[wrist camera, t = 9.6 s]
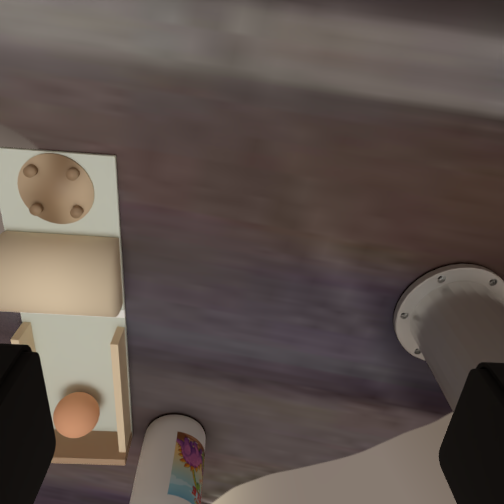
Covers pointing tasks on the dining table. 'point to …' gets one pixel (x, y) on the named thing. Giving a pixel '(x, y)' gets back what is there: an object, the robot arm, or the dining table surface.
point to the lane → (71, 302)
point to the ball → (76, 415)
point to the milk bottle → (170, 462)
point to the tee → (55, 188)
